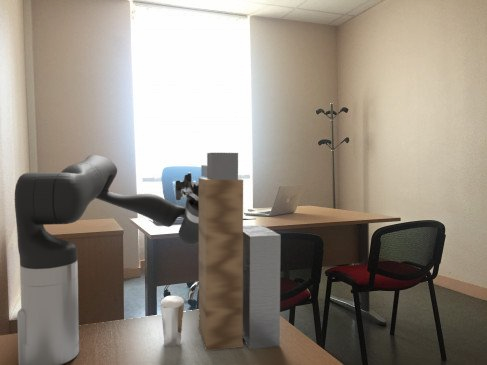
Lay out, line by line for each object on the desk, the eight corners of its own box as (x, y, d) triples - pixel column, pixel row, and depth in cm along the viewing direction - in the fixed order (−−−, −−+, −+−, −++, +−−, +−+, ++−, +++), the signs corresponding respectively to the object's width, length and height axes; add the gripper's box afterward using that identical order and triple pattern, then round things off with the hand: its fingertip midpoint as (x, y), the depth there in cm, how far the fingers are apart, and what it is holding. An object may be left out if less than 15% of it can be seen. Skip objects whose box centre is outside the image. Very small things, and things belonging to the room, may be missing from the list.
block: (211, 179, 73) (211, 152, 73) (197, 176, 91) (197, 154, 91) (237, 179, 74) (238, 152, 74) (218, 176, 92) (218, 154, 92)
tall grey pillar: (249, 349, 75) (250, 236, 74) (235, 324, 86) (235, 226, 85) (279, 346, 76) (280, 235, 75) (261, 321, 88) (262, 225, 87)
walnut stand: (206, 350, 74) (206, 179, 73) (198, 328, 84) (198, 177, 82) (242, 346, 76) (243, 179, 74) (231, 325, 86) (231, 177, 84)
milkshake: (183, 350, 74) (183, 297, 74) (156, 347, 76) (156, 295, 75) (191, 339, 79) (191, 289, 78) (166, 336, 80) (166, 288, 79)
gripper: (172, 192, 105) (176, 161, 91) (224, 191, 109) (236, 161, 95) (173, 218, 102) (178, 190, 88) (227, 217, 105) (240, 190, 91)
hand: (208, 175), depth 91 cm, fingers open, 8 cm apart
